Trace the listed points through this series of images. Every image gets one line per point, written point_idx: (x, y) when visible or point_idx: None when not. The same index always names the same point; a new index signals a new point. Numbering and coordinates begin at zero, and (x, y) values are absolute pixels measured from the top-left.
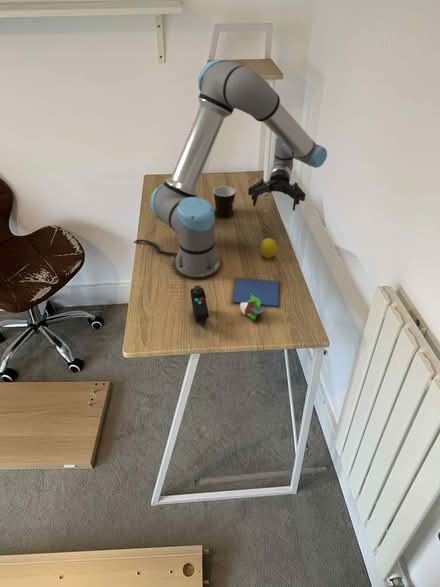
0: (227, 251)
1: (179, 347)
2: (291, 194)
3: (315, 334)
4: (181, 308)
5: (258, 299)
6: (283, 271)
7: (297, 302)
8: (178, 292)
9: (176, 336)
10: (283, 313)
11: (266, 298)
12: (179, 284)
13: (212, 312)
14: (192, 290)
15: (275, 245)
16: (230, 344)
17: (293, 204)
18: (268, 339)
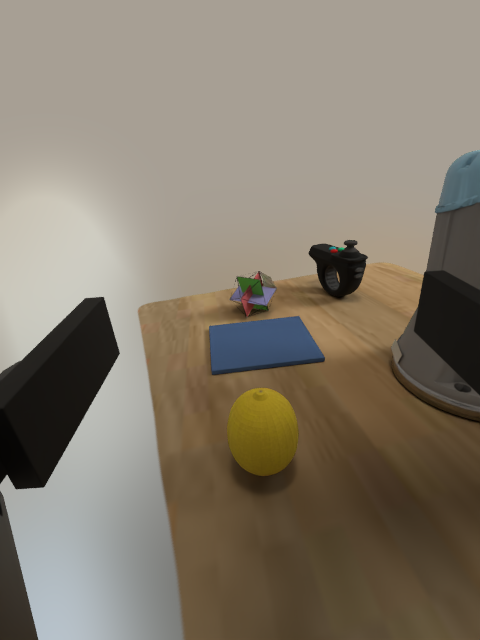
0: (445, 462)
1: None
2: (7, 578)
3: (146, 309)
4: (380, 298)
5: (243, 278)
6: (197, 414)
7: (167, 343)
8: None
9: None
10: (198, 323)
11: (234, 331)
12: None
13: (323, 303)
14: (363, 256)
15: (231, 408)
16: None
17: (104, 306)
18: (220, 294)
